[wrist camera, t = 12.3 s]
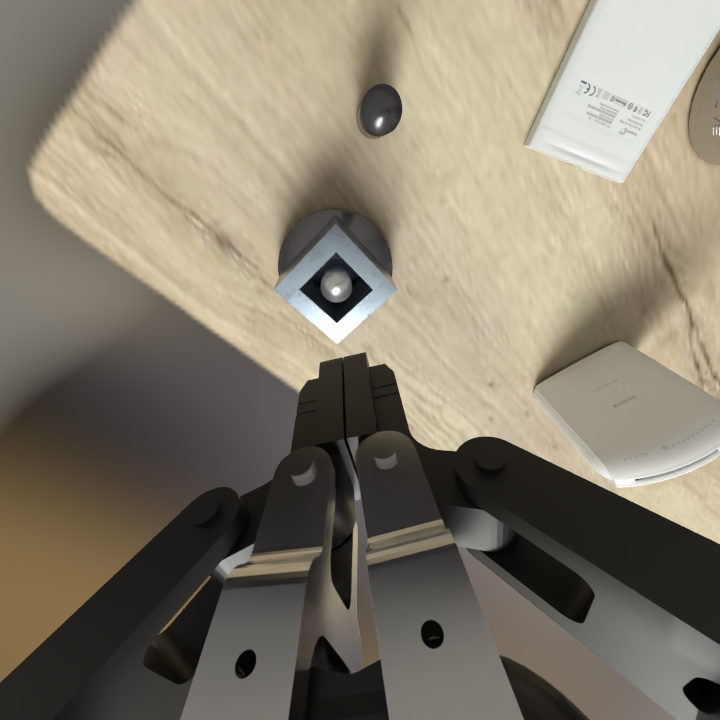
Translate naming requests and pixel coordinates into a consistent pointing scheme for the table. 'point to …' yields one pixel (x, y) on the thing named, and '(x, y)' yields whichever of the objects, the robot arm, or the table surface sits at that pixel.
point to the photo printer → (632, 416)
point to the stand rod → (379, 111)
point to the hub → (335, 272)
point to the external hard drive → (621, 80)
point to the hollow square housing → (308, 295)
